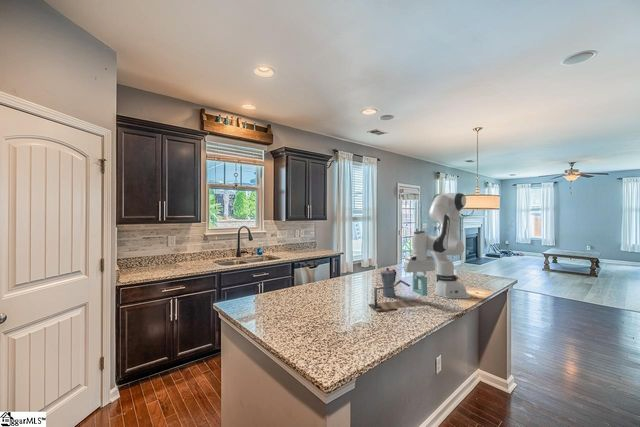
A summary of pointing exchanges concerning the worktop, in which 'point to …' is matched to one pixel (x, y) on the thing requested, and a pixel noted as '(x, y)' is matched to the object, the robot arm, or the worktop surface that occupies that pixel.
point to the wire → (383, 288)
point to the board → (399, 305)
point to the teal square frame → (423, 285)
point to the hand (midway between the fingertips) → (419, 278)
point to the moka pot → (388, 282)
